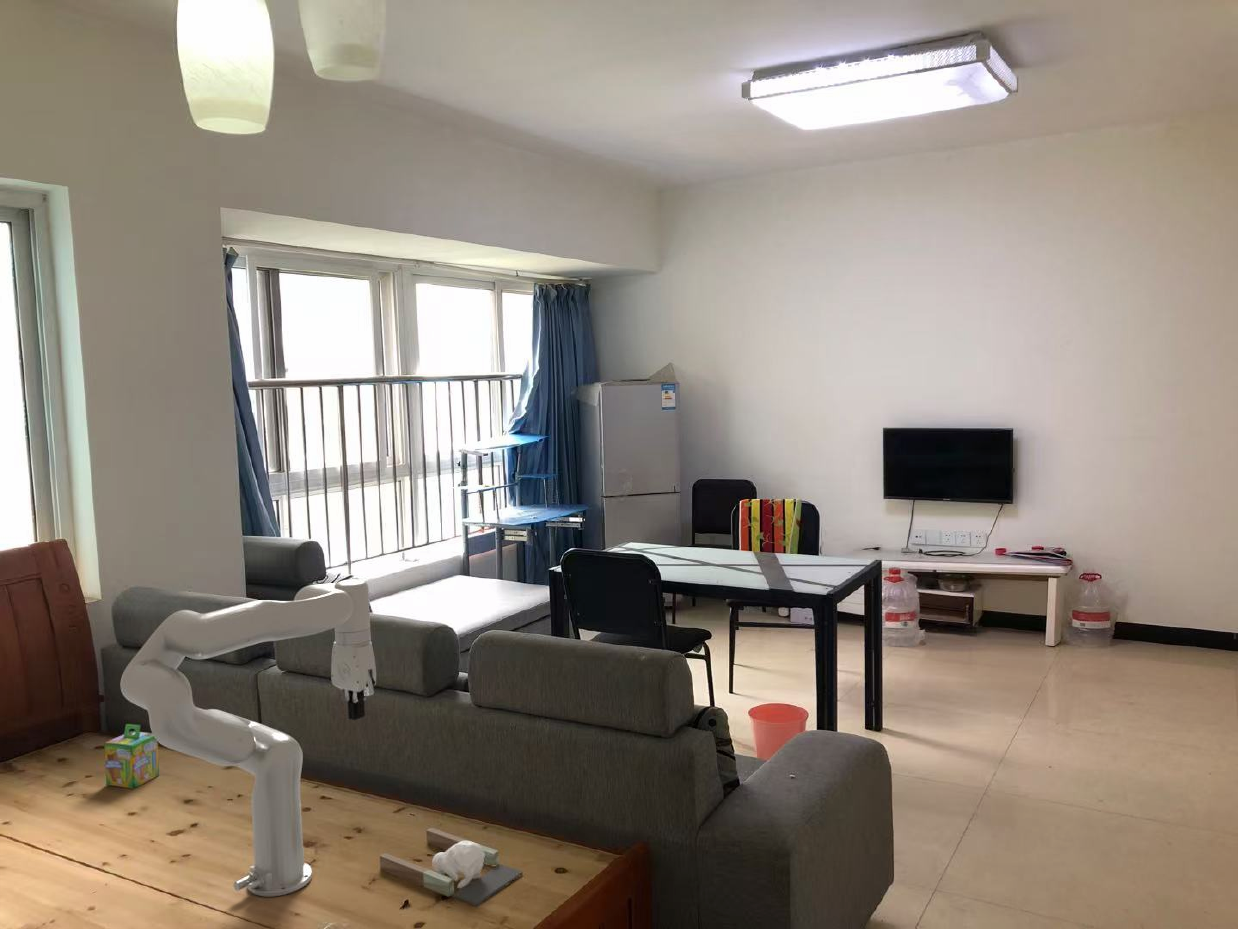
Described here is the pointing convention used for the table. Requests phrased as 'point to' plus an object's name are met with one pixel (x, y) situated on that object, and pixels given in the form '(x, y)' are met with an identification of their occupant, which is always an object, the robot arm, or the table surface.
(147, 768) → the chalk box
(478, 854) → the white figurine
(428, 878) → the parallel bars
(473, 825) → the table surface
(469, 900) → the mat
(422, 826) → the table surface
